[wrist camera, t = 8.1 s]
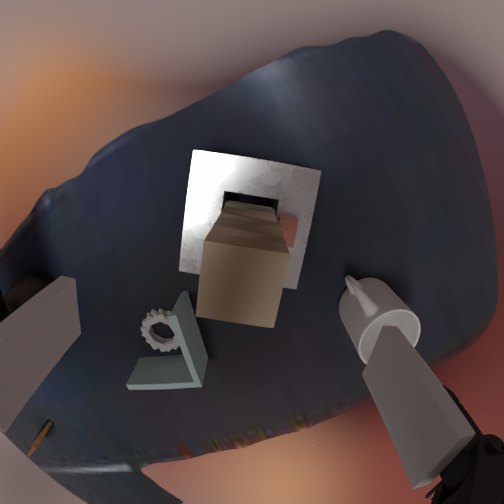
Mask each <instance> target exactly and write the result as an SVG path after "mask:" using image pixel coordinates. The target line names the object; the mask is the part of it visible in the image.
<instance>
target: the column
mask: <svg viewBox="0 0 504 504" xmlns="http://www.w3.org/2000/svg"><path fill="white" fill-rule="evenodd" d="M289 257H290V253H289V250H288V247H287V245H286V242H285V240H284V237H283V234H282V232H281V229H280V227H279V224H278V222H277V219H276V217H275V210H274V209H272V207H266V206H261V205H255V204H248V203H242V202H236V201H227V202H226V203H225V206H224V209H223V210H222V212H221V214H220V215H219V217H218V218H217V220H216V222H215V223H214V225H213V227H212V228H211V230H210V231H209V233H208V235H207V236H206V238H205V240H204V244H203V252H202V261H201V269H200V278H199V288H198V298H197V308H196V316H197V317H203V318H209V319H215V320H221V321H227V322H234V323H240V324H247V325H254V326H261V327H269V328H274V324H275V320H276V316H277V312H278V307H279V303H280V298H281V294H282V290H283V285H284V281H285V276H286V271H287V267H288V262H289Z"/></svg>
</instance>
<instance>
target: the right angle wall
mask: <svg viewBox="0 0 504 504" xmlns="http://www.w3.org/2000/svg"><path fill="white" fill-rule="evenodd" d="M158 322H162V323H164V324H167V325H169V327H170V328H171V329H172V331H173V332H174V334H175V335H174V337H173V338H166V339H164V338H162V337H160V336H159V335H157V334H155V333H154V330H153V328H152V325H153V324H156V323H158ZM142 325H143V326H142V327H141V331H142V336H144V337H146V342H147V343H149V344H150V345H151V346H152V348H153V349H154V350H155V349H158V348H159V349H160V351H161V352H165V351H168V352H170V349H175V350H176V349H177V347H179V346H180V347H181V350H182V353H183V355H171V356H158V357H143V358H139V360H138V362H137V364H136V366H135V368H134V370H133V372H132V374H131V376H130V378H129V380H128V382H127V384H126V385H127V387H128V389H129V390H148V389H177V388H193V387H202V384H203V380H204V375H205V370H206V365H207V360H208V355H207V352H206V349H205V346H204V343H203V340H202V337H201V334H200V331H199V328H198V324H197V321H196V318H195V315H194V311H193V308H192V305H191V301H190V298H189V294H188V291H182V292H181V294H180V296H179V298H178V300H177V302H176V304H175V306H174V308H173V310H172V312H171V311H165V310H163V309H161V308H160V309H159V310H158V312H157V311H156V310H154V309H152V310H151V312H150V313H147V318H145V319H143V321H142Z"/></svg>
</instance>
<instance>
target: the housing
mask: <svg viewBox="0 0 504 504" xmlns="http://www.w3.org/2000/svg"><path fill="white" fill-rule="evenodd" d="M320 176H321V171H319V170H315V169H310V168H305V167H300V166H295V165H290V164H284V163H279V162H273V161H268V160H262V159H256V158H250V157H243V156H237V155H230V154H223V153H216V152H208V151H200V150H193V156H192V162H191V169H190V176H189V183H188V191H187V199H186V207H185V215H184V224H183V233H182V243H181V254H180V265H179V271H183V272H188V273H194V274H200V269H201V261H202V252H203V244H204V240H205V238H206V236H207V235H208V233H209V231H210V230H211V228H212V227H213V225H214V223H215V222H216V220H217V218H218V217H219V215H220V214H221V212H222V210H223V209H224V206H225V203H226V200H227V194H228V192H235V193H241V194H248V195H254V196H260V197H266V198H271V199H274V203H273V209H274V210H275V217H276V219H277V222H278V224H279V227H280V229H281V232H282V234H283V237H284V240H285V242H286V245H287V247H288V250H289V253H290V257H289V262H288V267H287V271H286V276H285V281H284V285H283V288H290V289H296V288H297V284H298V280H299V276H300V271H301V267H302V263H303V258H304V254H305V249H306V245H307V240H308V236H309V231H310V226H311V222H312V217H313V212H314V207H315V202H316V197H317V192H318V187H319V182H320Z"/></svg>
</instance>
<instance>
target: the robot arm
mask: <svg viewBox="0 0 504 504" xmlns="http://www.w3.org/2000/svg"><path fill="white" fill-rule="evenodd" d="M80 334H81V328H80V321H79V312H78V303H77V292H76V279H74V278H70V277H65V276H60V277H59V278H58V279H56V280H54V279H52V278H51V277H50V276H48V275H47V274H45V273H43V272H40V271H36V270H31V271H27V272H25V273H24V274H22V275H20V276H19V277H18V278H16V279H15V281H14V282H13V284H12V286H11V288H10V289H9V291H8V292H7V293H6V295H5V296H4V298H3V296H2V293H1V290H0V430H1V431H3V432H4V433H6V431H7V430H8V428H9V427H10V425H11V424H12V422H13V421H14V419H15V418H16V417H17V415H18V414H19V412H20V411H21V410H22V408H23V407H24V405H25V404H26V403H27V401H28V400H29V399H30V397H31V396H32V395H33V393H34V392H35V391H36V389H37V388H38V387H39V385H40V384H41V383H42V381H43V380H44V379H45V377H46V376H47V375H48V374H49V372H50V371H51V370H52V368H53V367H54V366H55V365H56V363H57V362H58V361H59V360H60V358H61V357H62V356H63V355H64V353H65V352H66V351H67V350H68V349H69V347H70V346H71V345H72V344H73V343H74V341H75V340H76V339H77V338H78V337H79V335H80ZM362 376H363V378H364V380H365V382H366V384H367V386H368V389H369V391H370V393H371V395H372V397H373V399H374V401H375V404H376V406H377V408H378V410H379V412H380V414H381V417H382V419H383V421H384V423H385V426H386V428H387V430H388V432H389V434H390V437H391V439H392V441H393V443H394V446H395V448H396V450H397V452H398V455H399V457H400V460H401V462H402V464H403V467H404V469H405V472H406V474H407V476H408V479H409V481H410V484H411V486H412V488H413V489H415V488H418V487H422V486H425V485H428V484H430V483H431V482H432V481H433V480H434V479H435V478H436V477H437V476H438V475H439V474H440V476H441V479H442V481H441V482H439V483H438V484H437V485H436V486H435V487H434V488H433V489H432V490H431V491H430V492H429V493H428V494H427V495H426V497H425V498H428V497H429V496H430V495H432V494H433V493H434V492H435V494H434V497H432V498H431V500H432V503H431V504H504V442H503V441H502V440H501V439H500V438H499V437H497V436H495V435H492V434H487V435H483V434H482V433H481V431H480V430H479V429H478V427H477V425H476V424H475V422H474V421H473V419H472V418H471V417H470V415H469V414H468V412H467V411H466V410H464V409H465V408H464V407H463V406H462V404H461V403H459V400H458V398H457V397H456V396H455V394H454V393H453V392H452V391H451V390H449V389H448V388H447V387H446V386H444V385H442V384H441V383H440V382H439V380H438V379H437V377H436V376H435V375H434V373H433V372H432V371H431V369H430V368H429V367H428V365H427V364H426V363H425V361H424V360H423V359H422V357H421V356H420V355H419V354H418V352H417V351H416V350H415V348H414V347H413V346H412V345H411V343H410V342H409V341H408V339H407V338H406V337H405V336H404V334H403V333H402V332H401V331H400V329H399V328H398V327H397V326H385V325H383V326H382V329H381V331H380V334H379V336H378V339H377V341H376V344H375V346H374V348H373V351H372V353H371V356H370V358H369V360H368V362H367V365H366V367H365V369H364V371H363V374H362Z"/></svg>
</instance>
